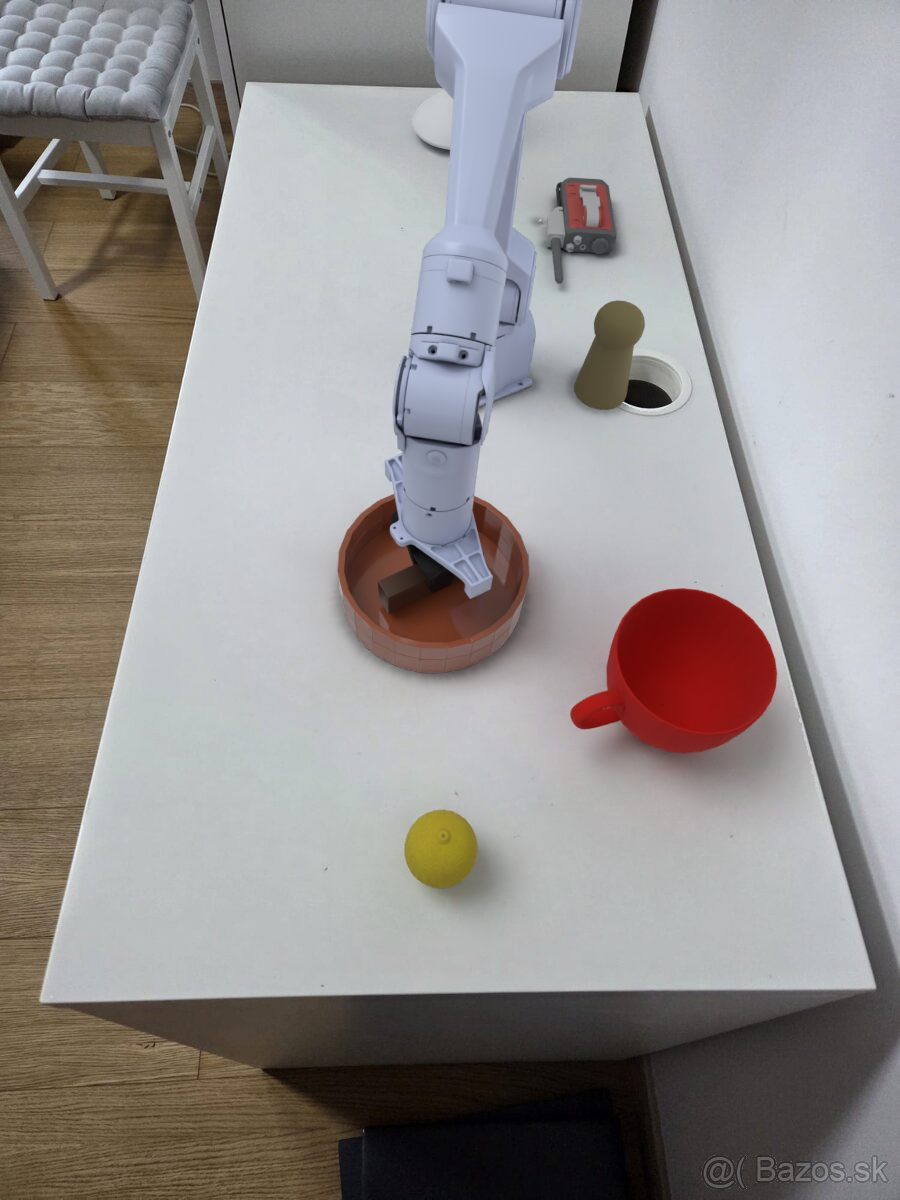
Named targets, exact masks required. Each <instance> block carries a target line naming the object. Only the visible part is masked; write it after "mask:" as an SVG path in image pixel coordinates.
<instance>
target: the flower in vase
mask: <svg viewBox="0 0 900 1200" xmlns="http://www.w3.org/2000/svg"><path fill="white" fill-rule="evenodd" d="M453 101H454V100H453V99H452V97H451V96H450V95H449V94H448V93H447V92H446V91H445V90H444V89H443V88H442V89H440V90H439V91H437V92H436V93H434V94H432V95H431V96H429V98H427V99H425V100H424V101H423V102H422V103H421V104H420V105H419V106H418V107H417V108H416V110H415V112H414V114H413V116H412V120H411V121H412V122H411V124H412V128H413V130H414V131H415V133H416V135H417V136H418V137H419V139H421V140H422V141H424V142H425V143H426V144H428V145H430V146H433V147H436V148H438V149H443V150H449V151H450V145H451V131H452V116H453Z"/></svg>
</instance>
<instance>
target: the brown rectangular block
mask: <svg viewBox="0 0 900 1200" xmlns="http://www.w3.org/2000/svg"><path fill="white" fill-rule="evenodd" d="M482 552H483V550H482ZM483 556H484V552H483ZM460 580H461V579H460V578H459V577H457V576H455V578H454V579H453V581H452V583H451V585H452V584H454V583H456V582H458V581H460ZM447 587H448V586H447ZM445 588H446V587H445ZM431 594H433V593H432V592H431V591H430V589H429V588H428V586H427V584H426V579H425V573H424V572H423V570H422V569H421V567H420V566H419V564H418V563H417V564H414V565H412V566H410V567H408V568H406V569H403V570H401V571H399V572H397V573H395V574H393V575H390V576H388V577H386V578H384V579H382V580H379V581H378V595H379V600H380V601H381V603H382V604H383V606H384V608H385V609H386V611H387V613H388V614H391V613H393V612H395V611H397V610H399V609H401V608H403V607H405V606H408V605H410V604H412V603H414V602H416V601H418V600H420V599H422V598H424V597H427V596H429V595H431Z"/></svg>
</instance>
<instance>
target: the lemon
mask: <svg viewBox="0 0 900 1200" xmlns="http://www.w3.org/2000/svg"><path fill="white" fill-rule="evenodd" d="M478 848H479V847H478V839H477V835H476V833H475V831H474V829H473V827H472V825H471V824H470V823H469V821H468V820H467V819H466V818H464V817H463V816H462V815H461V814H459V813H458V812H457V813H456V812H455V811H453V810H447V809H435V810H431V811H429V812H426V813H424V814H423V815H421V816H420V817H418V818H417V819H416V820H415V821H414V823H412V824H411V826H410V828H409V830H408V832H407V833H406V836H405V840H404V849H403V851H404V853H403V854H404V858H405V863H406V866H407V867H408V869H409V872H410V873H411V874H412V876H414V878H415V879H416V880H417V881H419V882H420V883H422V884H423V885H425V886H427V887H430V888H434V889H447V888H452V887H454V886H456V885H458V884H460V883H462V882H463V881H464V880H465V879H466V878H467V877H468V876H469V875H470V874H471V872H472V871H473V869H474V867H475V865H476V861H477V859H478Z"/></svg>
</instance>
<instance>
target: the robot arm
mask: <svg viewBox="0 0 900 1200" xmlns="http://www.w3.org/2000/svg"><path fill="white" fill-rule="evenodd" d="M582 6H583V0H426V11H425V44H426V49H427V52H428V53H429V55H430V57H431V58H432V61H433V62H434V74H435V80H436V83H437V84H438V85H439V86H440V87H441V88H442V89H444V90H445V91H446V92H447V93H448V94H449V95H450V96H451V97H452V99H453V100H454V101H453V116H452V131H451V145H450V150H449V160H448V161H449V163H448V175H447V176H448V177H447V190H446V191H447V192H446V205H445V219H444V220H445V221H444V226H443V227H442V229H440V231H439V232H437V233H436V234H435V235H434V236H433V237H431V239H430V240H428V242H426V244H425V245H424V247H423V249H422V257H421V262H420V270H419V277H418V283H417V291H416V298H415V304H414V310H413V318H412V326H411V332H410V338H409V346H408V352H407V355H408V357H407V356H406V355H405V354H404V355H402V357H401V359H400V362H399V364H398V367H397V371H396V376H395V381H394V386H393V394H392V395H393V396H392V407H391V408H392V424H393V433H394V435H395V436H396V443H397V444H396V445H397V446H396V447H397V449H398V450H400V451H401V452H402V453H399V454H397V455H394V456H392V457H389V458H387V459H385V460H384V476H385V478H387V480H388V481H389V482H390V483H392V484H391V485H392V490H393V494H394V496H395V501H396V507H397V511H395V512H394V513H393V514H392V516H391V524H392V525H391V526H390V534H391V536H392V537H393V539H394V540H395V542H396V543H397V544H398V545H399V546H401V547H404V546H407V549H408V551H409V554H410V557H411V560H412V563H413V565H414V564H417V563H418V564H419V566H420V567H421V569H422V570H423V572H424V573H425V579H426V584H427V586H428V588H429V589H430V591H431V592H432V593H435V592H437V591H439V590H441V589H443V588H445V587H447V586H450V585H451V583H452V581H453V579H454V578H455V576H457V577H459V578H460V579H461V580H462V581H463V582H464V583H465V589H464V590H465V592H466V594H467V595H468V597H469V598H470V599H471V598H473V597H475V596H478V595H480V594H482V593H484V592H486V591H488V590H490V589H491V584H492V579H493V576H492V574H491V573H490V571H489V570H488V568H487V565H486V563H485V560H484V556H483V552H482V548H481V544H480V540H479V536H478V532H477V527H476V523H475V519H474V515H473V511H472V509H473V501H474V496H475V493H476V483H477V477H478V468H479V463H480V462H479V461H480V453H481V446H483V445H484V443H485V440H486V438H487V435H488V432H489V428H490V424H491V417H492V411H493V406H494V405H493V404H494V401H498V400H499V399H502V398H505V397H506V396H510V395H512V394H515V393H516V392H520V391H522V390H525V389H527V388H529V387H532V385H533V380H532V378H530V371H531V366H532V360H533V355H534V348H535V344H536V339H537V338H536V337H537V331H536V329H537V328H536V324H535V319H534V316H533V314H532V311H531V310H530V308H531V302H532V301H531V300H532V295H533V289H534V283H535V276H536V270H537V266H536V263H537V257H538V253H537V251H536V244H535V243H534V242H533V241H532V240H531V239H529V238H528V237H526V236H525V235H524V234H523V233H522V232H520V231H518V230H517V229H516V228H514V226H513V225H514V224H513V223H514V216H515V208H516V203H517V201H516V200H517V192H518V186H519V179H520V178H519V177H520V169H521V162H522V156H523V155H522V154H523V149H524V148H523V147H524V139H525V131H526V125H527V117H528V111H530V110H532V109H534V108H536V107H538V106H540V105H542V104H543V103H545V102H547V101H549V100H551V99H552V98H553V97H554V96H555V95H554V94H555V91H556V90H555V88H556V83H557V80H559V81H562V80H563V79H564V76H567V75H568V74H569V73H570V72H571V71H572V65H573V59H574V53H575V47H576V42H577V36H578V30H579V23H580V18H581V12H582ZM482 406H485V408H484V413H483V419H481V416H480V413H479V408H480V407H482ZM482 420H483V422H482Z"/></svg>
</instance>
